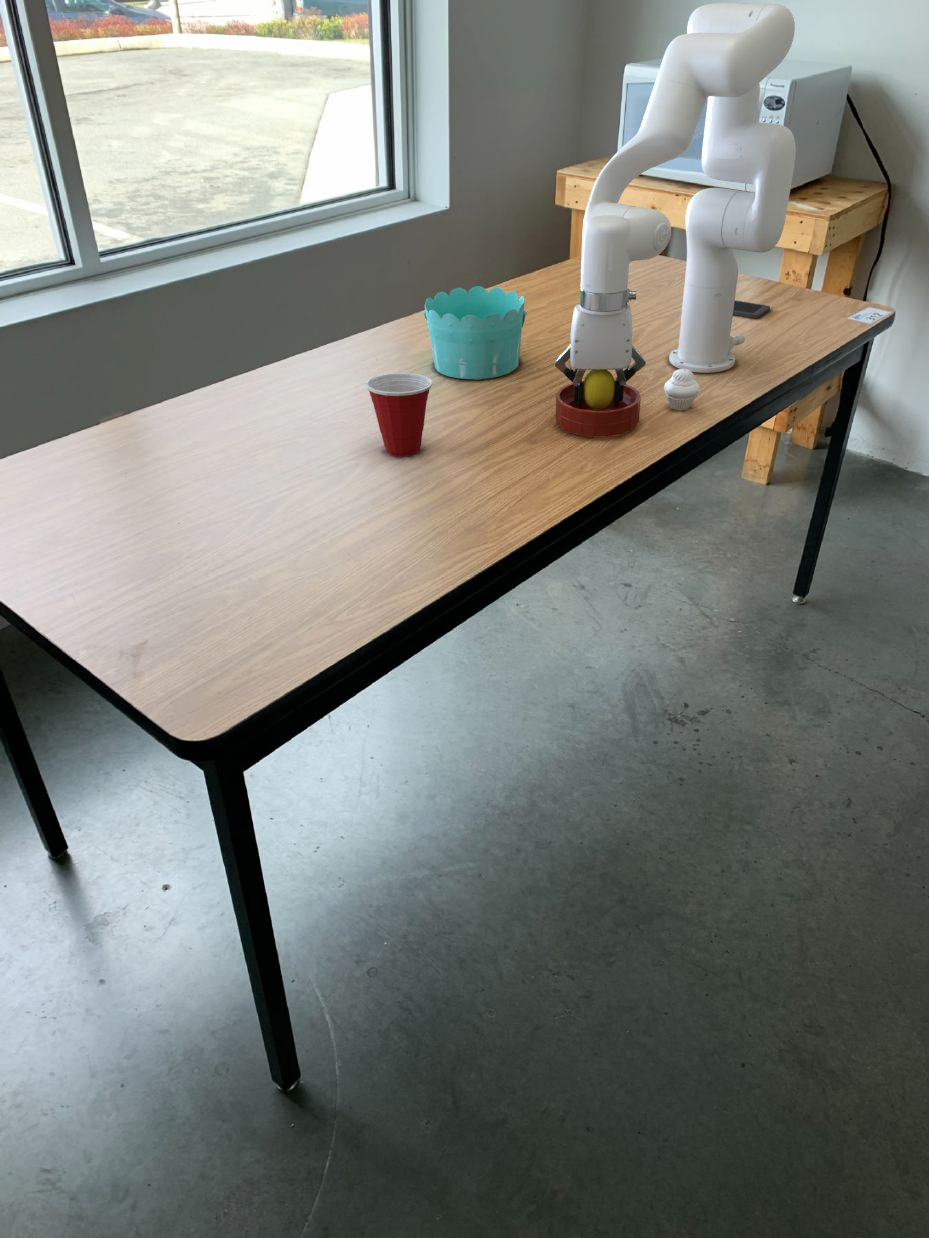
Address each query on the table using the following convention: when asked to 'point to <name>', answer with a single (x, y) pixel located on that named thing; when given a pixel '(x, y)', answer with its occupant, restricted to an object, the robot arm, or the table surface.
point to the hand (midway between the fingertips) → (597, 404)
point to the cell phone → (749, 309)
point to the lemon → (598, 389)
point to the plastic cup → (400, 410)
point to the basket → (475, 332)
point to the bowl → (597, 414)
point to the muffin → (681, 389)
